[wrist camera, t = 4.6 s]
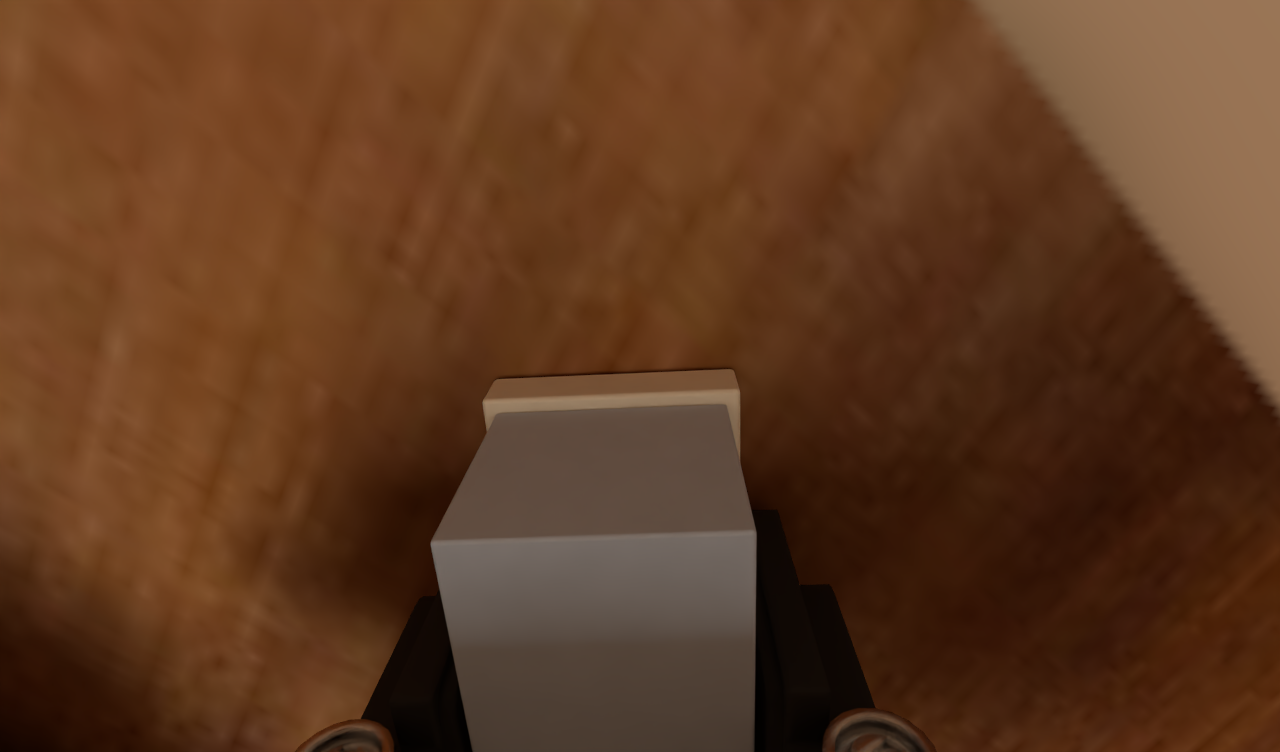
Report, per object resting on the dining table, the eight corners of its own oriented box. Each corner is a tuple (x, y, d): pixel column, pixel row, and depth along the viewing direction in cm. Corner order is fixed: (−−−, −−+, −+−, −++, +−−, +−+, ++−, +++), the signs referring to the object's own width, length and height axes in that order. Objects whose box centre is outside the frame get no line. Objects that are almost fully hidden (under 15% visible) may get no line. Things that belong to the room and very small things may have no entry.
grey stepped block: (494, 377, 11) (405, 526, 7) (733, 367, 11) (777, 514, 7) (547, 743, 14) (505, 987, 10) (735, 739, 14) (766, 986, 10)
